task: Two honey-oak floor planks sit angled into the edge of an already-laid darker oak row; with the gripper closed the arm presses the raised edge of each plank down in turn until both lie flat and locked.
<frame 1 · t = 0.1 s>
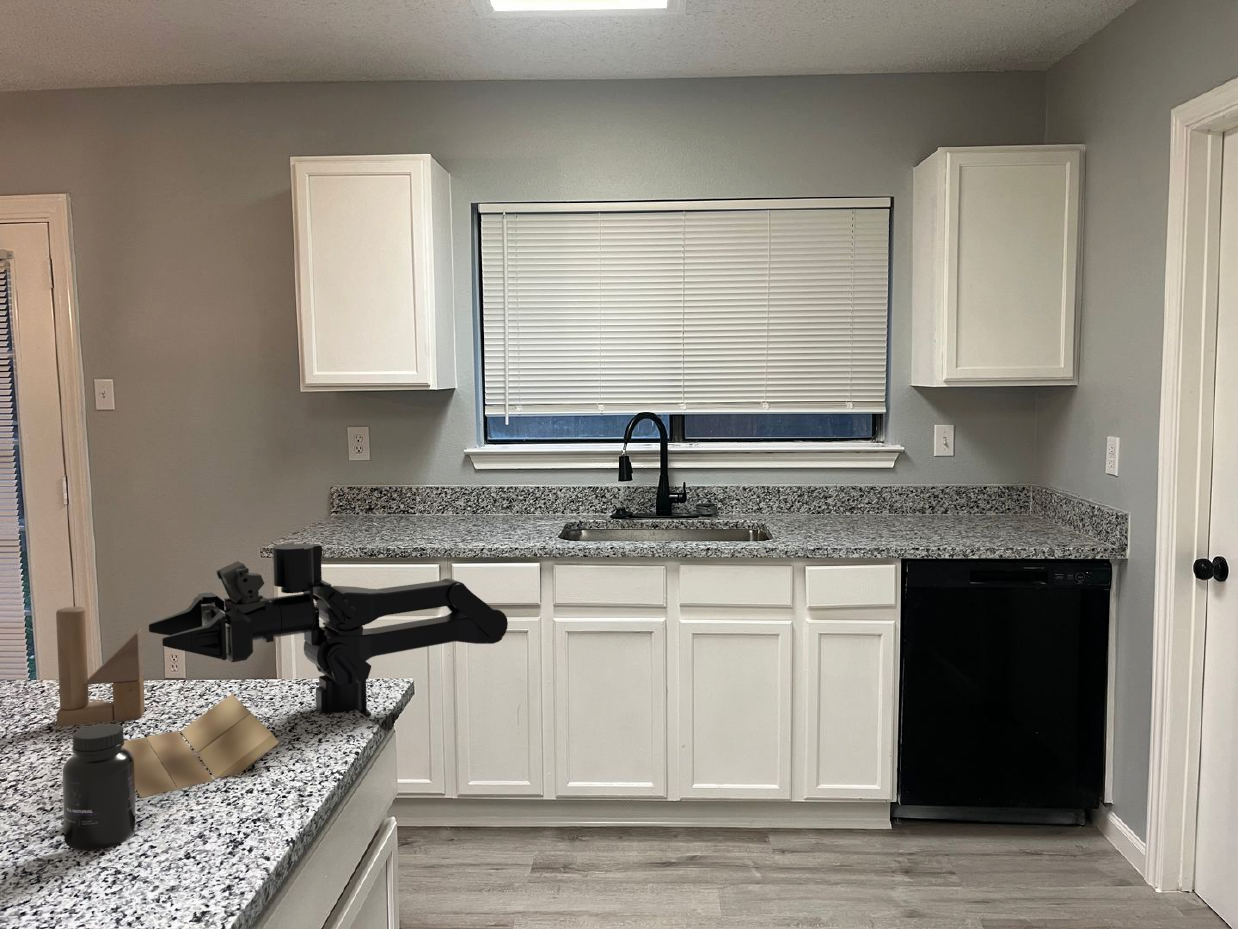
hand: (155, 635, 119), 17 cm above the counter, tool horizontal, fingers open, 9 cm apart
supplement bottle: (101, 839, 98), on the counter
laid floor row: (161, 772, 115), on the counter
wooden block: (102, 729, 130), on the counter
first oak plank: (218, 725, 124), point 3 cm above the counter, hinge at 30.0°
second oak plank: (237, 748, 116), point 3 cm above the counter, hinge at 30.0°
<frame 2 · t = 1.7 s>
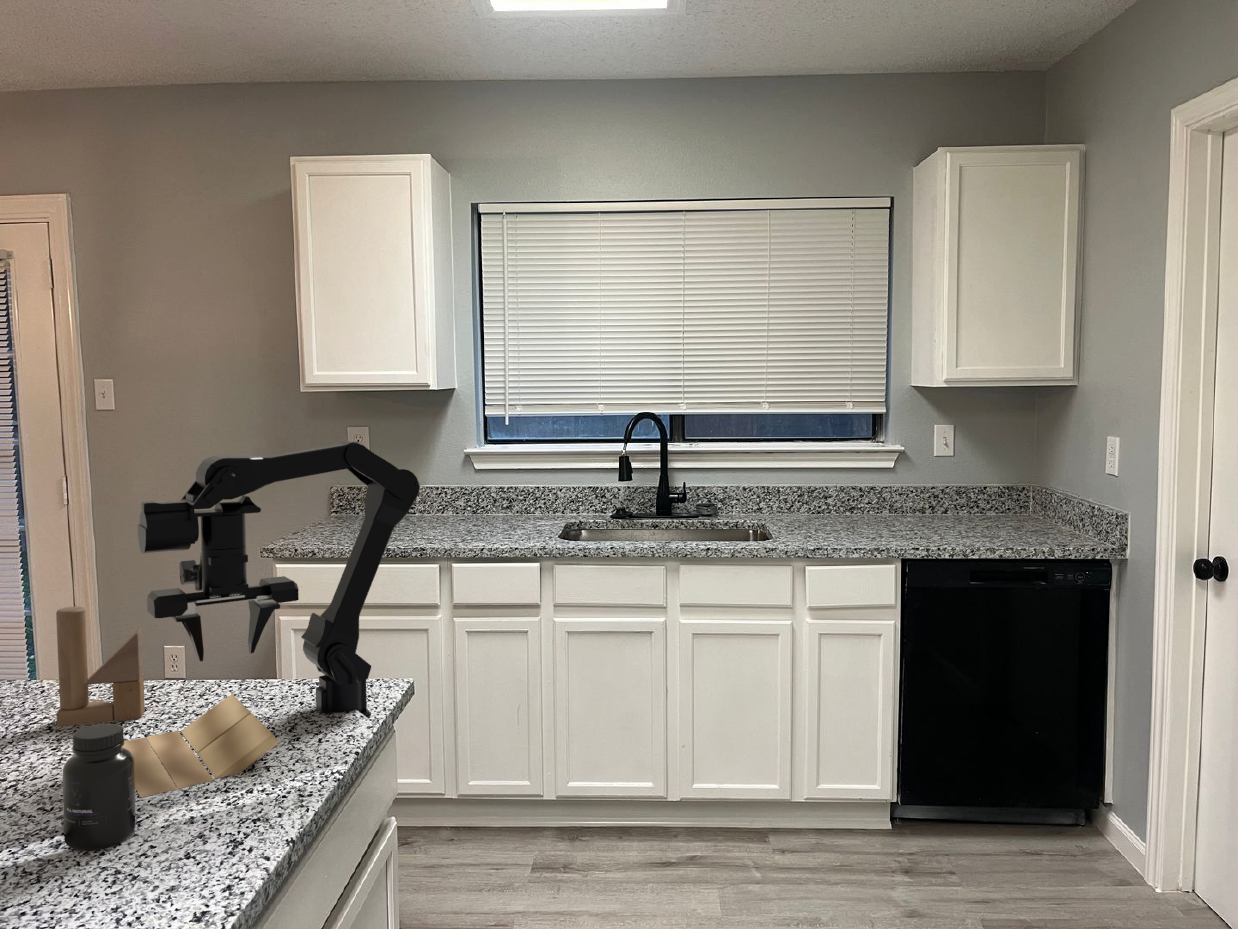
hand: (226, 656, 125), 12 cm above the counter, tool pointing down, fingers open, 6 cm apart
nothing on the counter moved.
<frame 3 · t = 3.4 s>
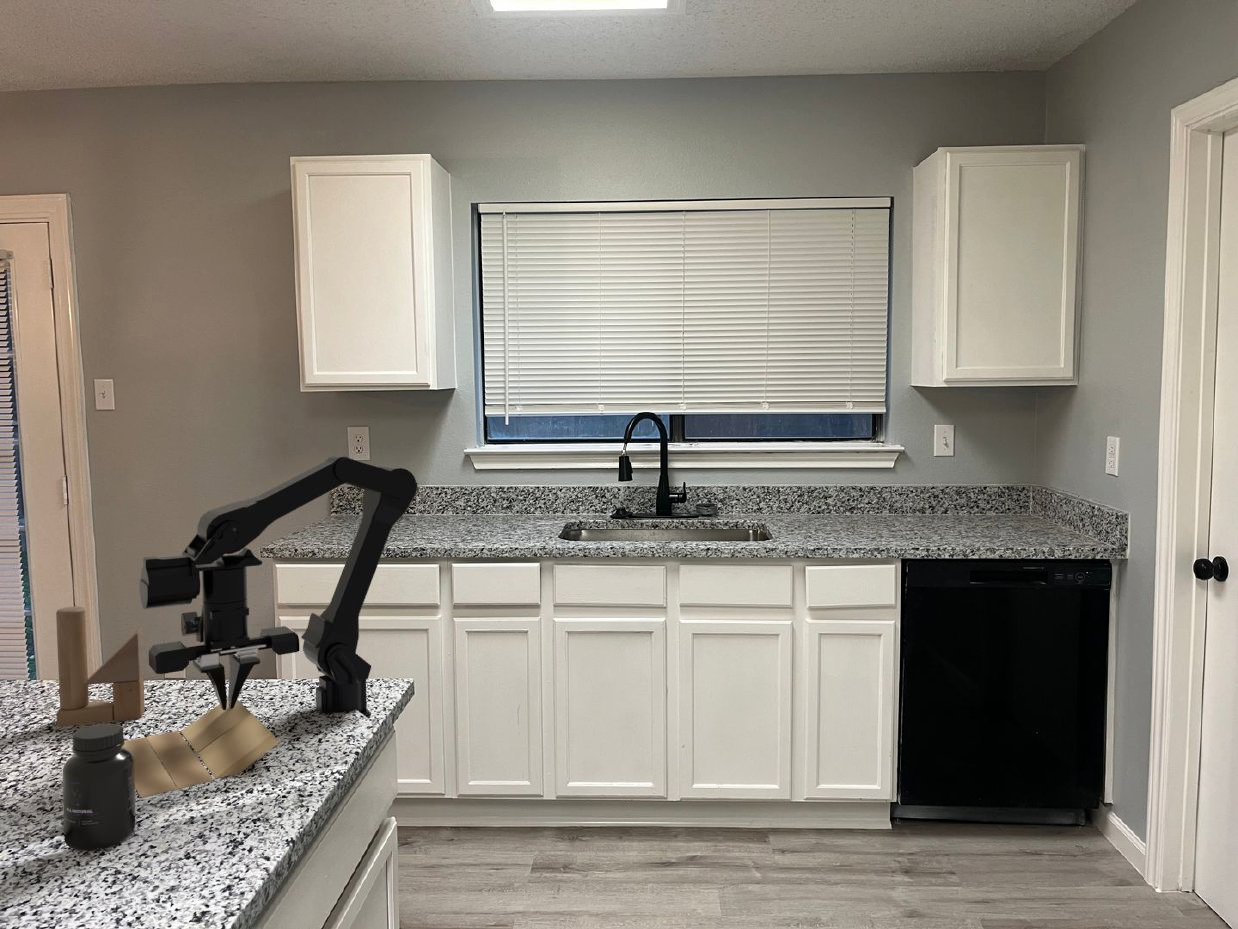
hand: (227, 708, 125), 5 cm above the counter, tool pointing down, fingers closed
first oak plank: (218, 726, 124), point 3 cm above the counter, hinge at 28.0°, touching gripper
everything else where it was.
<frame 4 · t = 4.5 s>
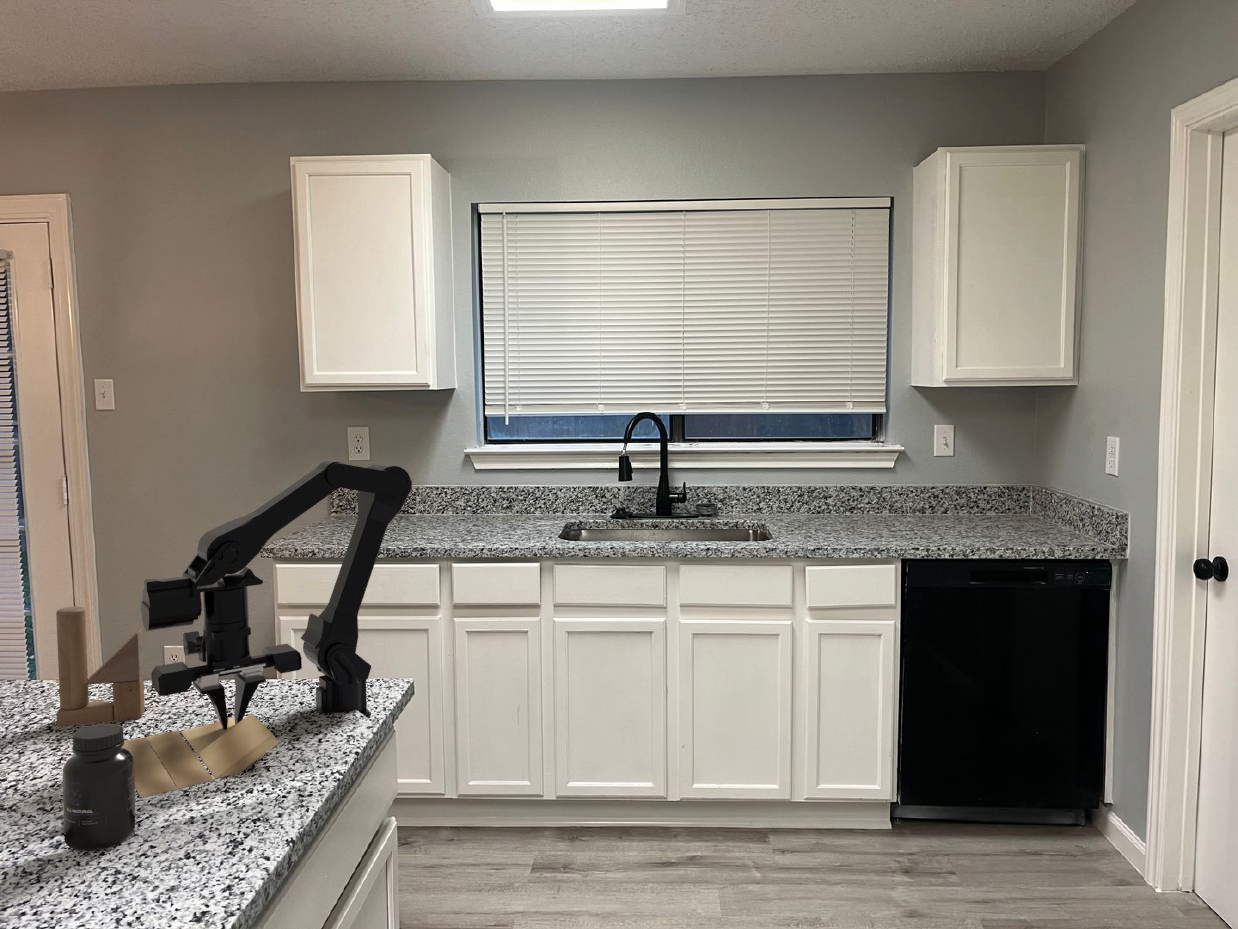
hand: (231, 727, 126), 2 cm above the counter, tool pointing down, fingers closed on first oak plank
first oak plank: (219, 738, 124), point 1 cm above the counter, hinge at 3.3°, touching gripper
everything else where it was.
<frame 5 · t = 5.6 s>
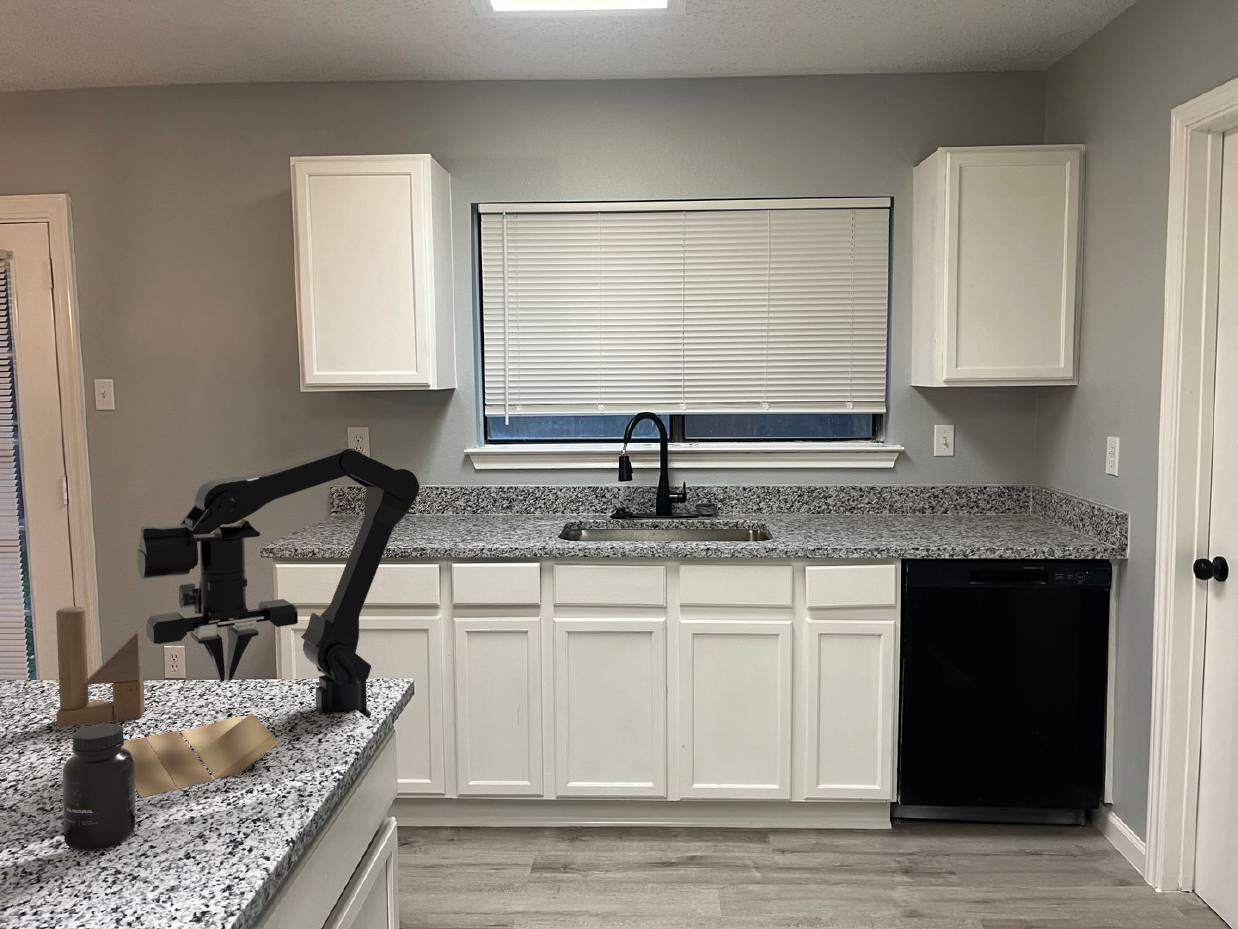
hand: (225, 680, 125), 9 cm above the counter, tool pointing down, fingers closed
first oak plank: (219, 738, 124), point 1 cm above the counter, hinge at 3.1°
everything else where it was.
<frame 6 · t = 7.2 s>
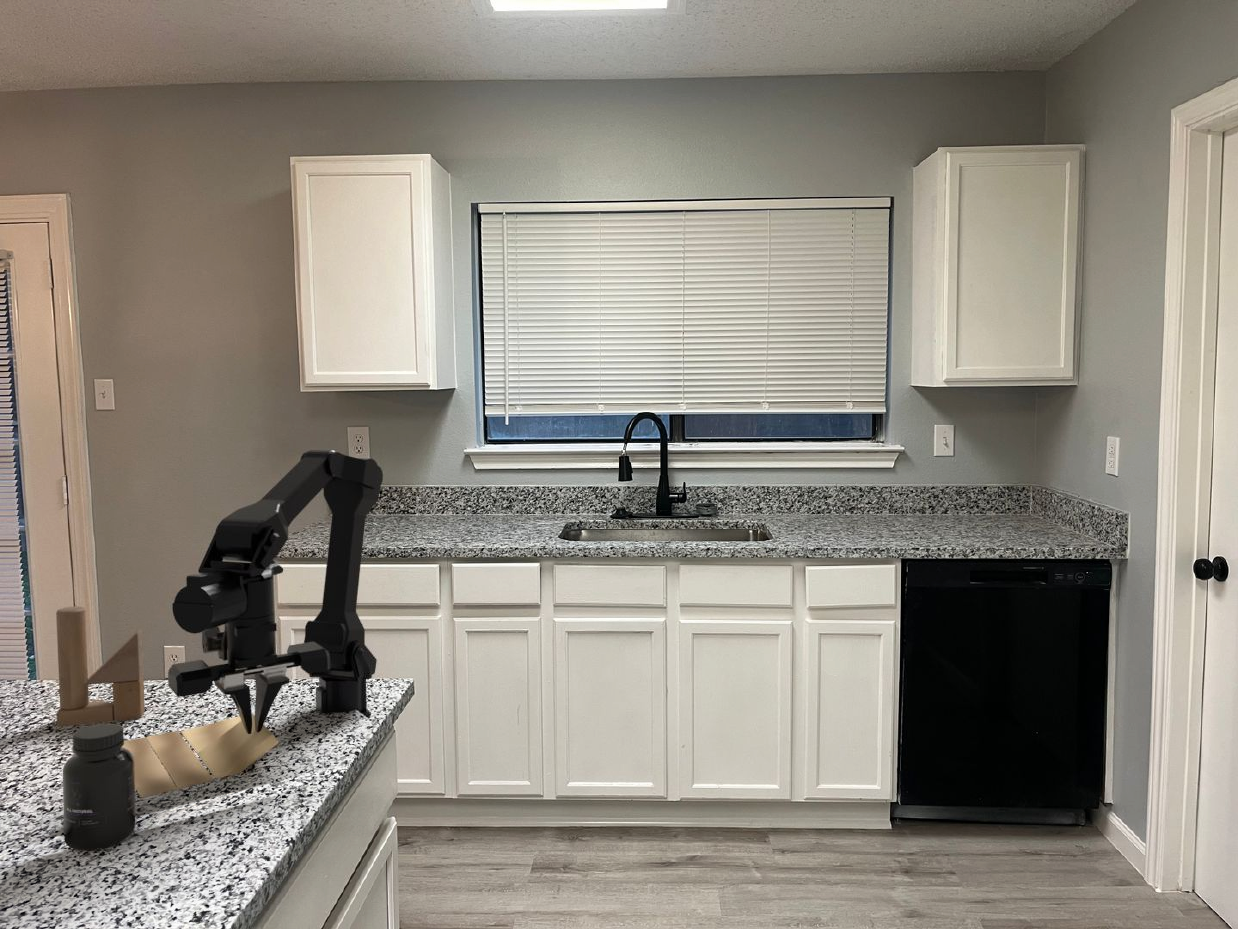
hand: (253, 732, 116), 5 cm above the counter, tool pointing down, fingers closed
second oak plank: (237, 748, 116), point 3 cm above the counter, hinge at 30.0°, touching gripper
everything else where it was.
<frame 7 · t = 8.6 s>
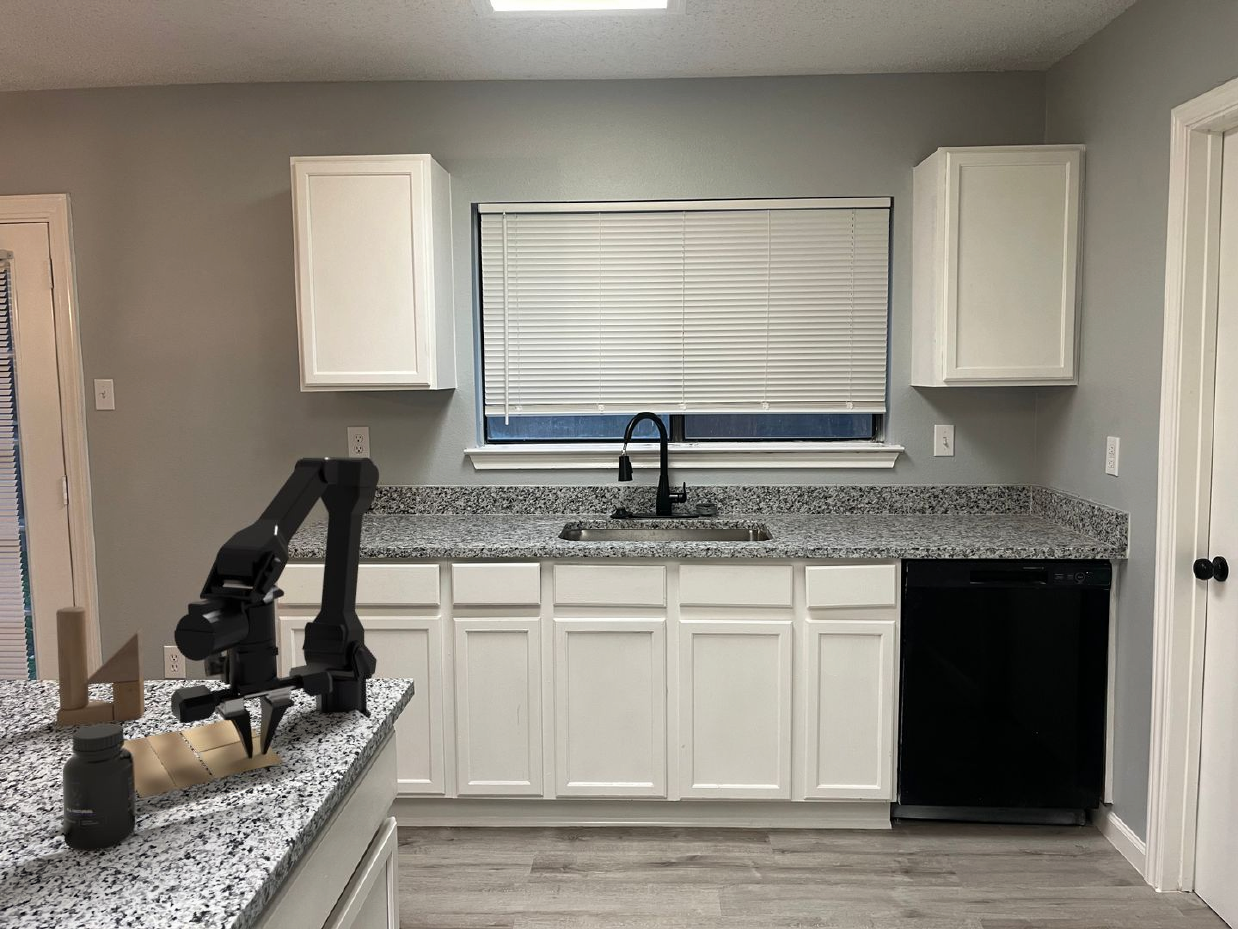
hand: (256, 755, 116), 2 cm above the counter, tool pointing down, fingers closed on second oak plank
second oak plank: (239, 761, 116), point 1 cm above the counter, hinge at 3.1°, touching gripper
everything else where it was.
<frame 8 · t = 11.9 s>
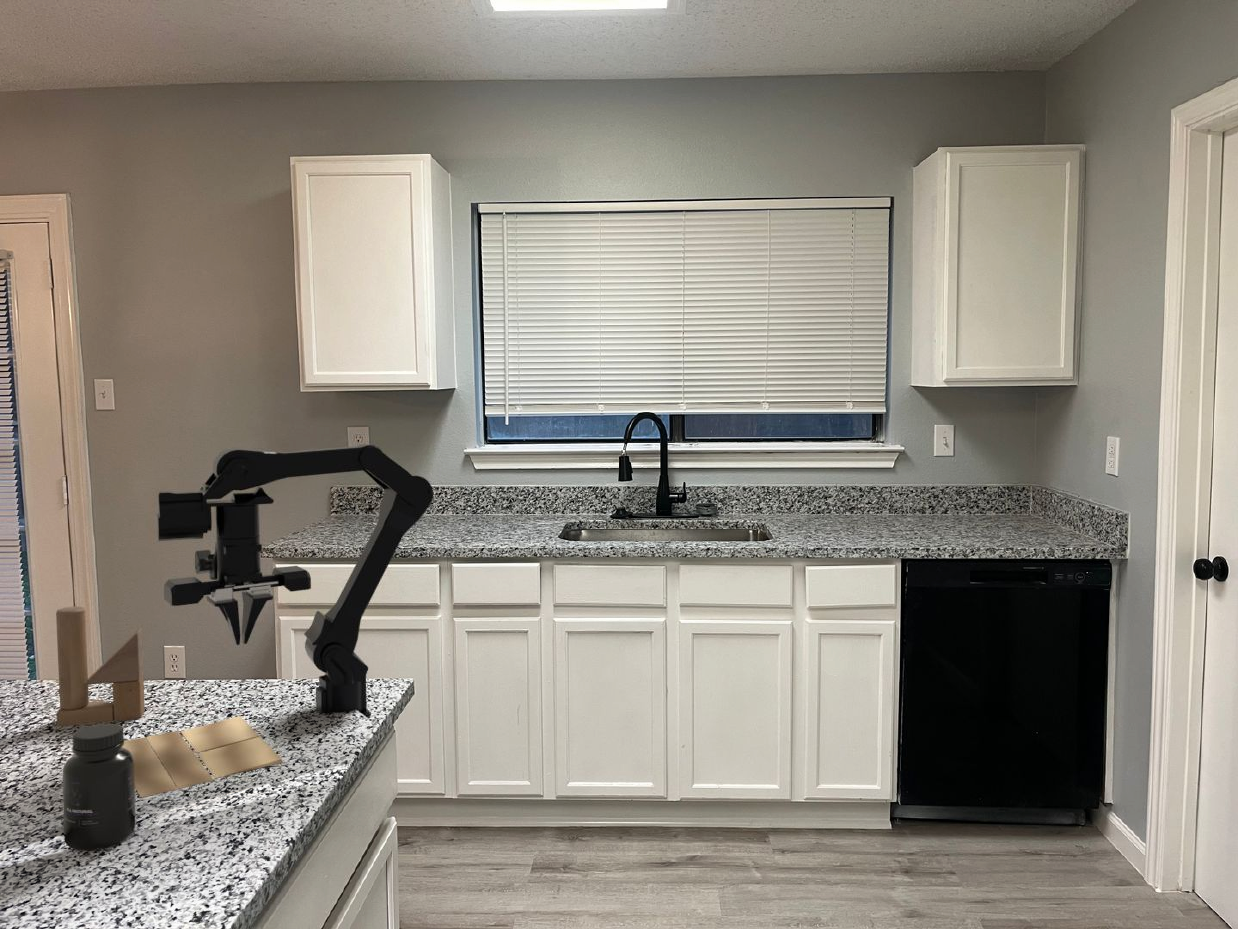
hand: (241, 644, 128), 13 cm above the counter, tool pointing down, fingers closed
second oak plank: (239, 762, 116), point 1 cm above the counter, hinge at 3.1°
everything else where it was.
at the end: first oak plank at +3° (first picture: +30°); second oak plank at +3° (first picture: +30°) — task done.
